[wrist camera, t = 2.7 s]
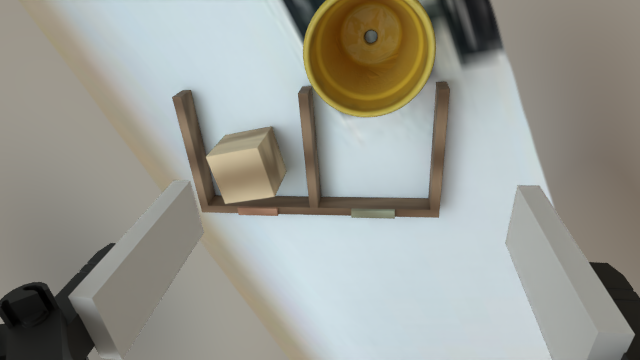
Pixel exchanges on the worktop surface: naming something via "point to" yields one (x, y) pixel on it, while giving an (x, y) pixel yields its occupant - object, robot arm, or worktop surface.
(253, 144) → the oak block
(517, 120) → the worktop surface
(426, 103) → the worktop surface
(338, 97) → the plant pot
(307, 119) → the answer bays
